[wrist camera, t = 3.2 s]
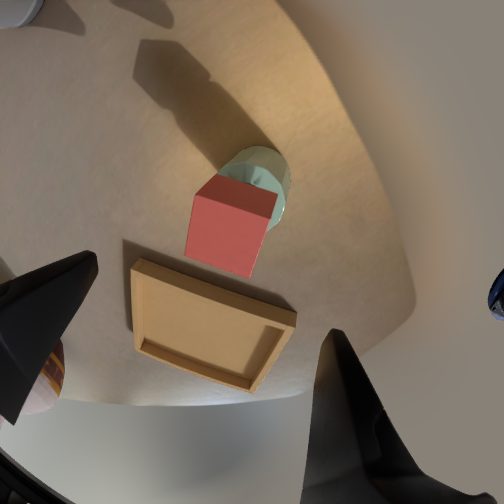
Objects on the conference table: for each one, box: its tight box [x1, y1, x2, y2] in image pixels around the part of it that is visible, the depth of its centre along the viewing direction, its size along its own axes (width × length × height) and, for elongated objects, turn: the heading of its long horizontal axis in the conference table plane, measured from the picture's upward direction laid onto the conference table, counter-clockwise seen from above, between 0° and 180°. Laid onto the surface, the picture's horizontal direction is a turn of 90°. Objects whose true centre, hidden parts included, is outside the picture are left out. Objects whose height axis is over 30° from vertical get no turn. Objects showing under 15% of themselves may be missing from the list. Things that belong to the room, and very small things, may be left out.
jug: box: [0, 339, 65, 428], centre depth 32 cm, size 20×18×30 cm
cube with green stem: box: [185, 174, 278, 278], centre depth 17 cm, size 3×3×9 cm
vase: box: [217, 146, 291, 232], centre depth 19 cm, size 5×5×5 cm
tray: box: [131, 258, 297, 394], centre depth 31 cm, size 17×15×2 cm
